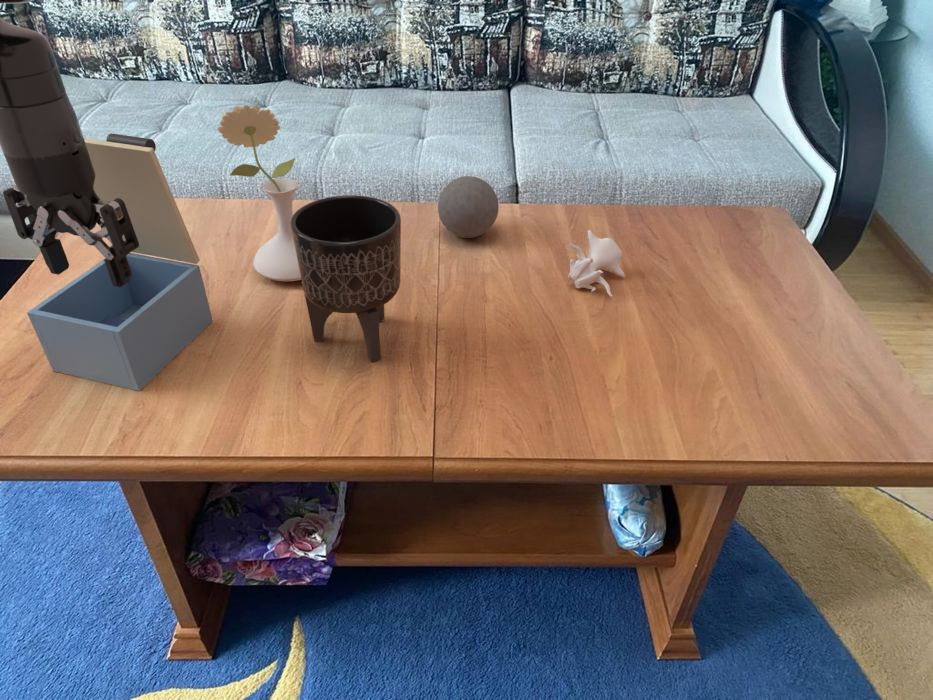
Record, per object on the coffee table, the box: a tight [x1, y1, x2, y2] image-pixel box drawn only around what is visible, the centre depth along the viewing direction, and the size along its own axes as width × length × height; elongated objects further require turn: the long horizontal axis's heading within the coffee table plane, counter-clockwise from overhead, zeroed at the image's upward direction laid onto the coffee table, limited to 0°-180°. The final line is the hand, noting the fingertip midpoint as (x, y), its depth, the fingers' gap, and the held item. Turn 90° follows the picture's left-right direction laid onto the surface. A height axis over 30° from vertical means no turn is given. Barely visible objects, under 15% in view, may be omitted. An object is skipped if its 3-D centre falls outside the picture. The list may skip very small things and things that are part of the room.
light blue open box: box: [26, 252, 214, 392], centre depth 87 cm, size 16×13×9 cm
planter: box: [290, 194, 402, 363], centre depth 86 cm, size 13×13×18 cm
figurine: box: [567, 229, 626, 298], centre depth 103 cm, size 10×8×10 cm
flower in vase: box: [217, 104, 302, 282], centre depth 98 cm, size 13×11×25 cm
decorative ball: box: [437, 175, 499, 239], centre depth 113 cm, size 10×10×10 cm
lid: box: [83, 133, 201, 265], centre depth 85 cm, size 16×13×5 cm
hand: (91, 277), depth 80 cm, fingers open, 8 cm apart
